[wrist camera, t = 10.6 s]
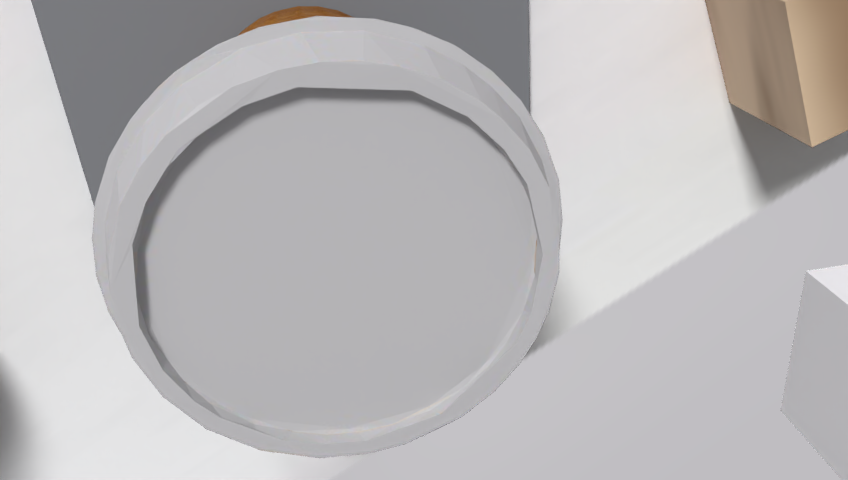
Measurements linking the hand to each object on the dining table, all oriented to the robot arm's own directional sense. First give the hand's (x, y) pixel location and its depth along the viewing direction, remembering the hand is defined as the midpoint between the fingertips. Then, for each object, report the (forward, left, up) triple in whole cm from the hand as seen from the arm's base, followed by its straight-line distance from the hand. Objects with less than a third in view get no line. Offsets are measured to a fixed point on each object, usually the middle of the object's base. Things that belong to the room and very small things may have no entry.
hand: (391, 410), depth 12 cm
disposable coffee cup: (0, 0, -16) cm, 16 cm away
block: (-17, -1, -17) cm, 23 cm away
